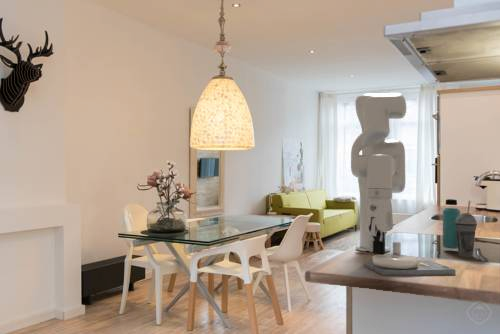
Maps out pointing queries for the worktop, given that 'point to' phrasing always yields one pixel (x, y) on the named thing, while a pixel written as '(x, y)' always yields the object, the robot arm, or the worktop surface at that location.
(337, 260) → the worktop surface
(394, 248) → the dial
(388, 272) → the stand
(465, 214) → the beverage cup
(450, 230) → the beverage bottle
